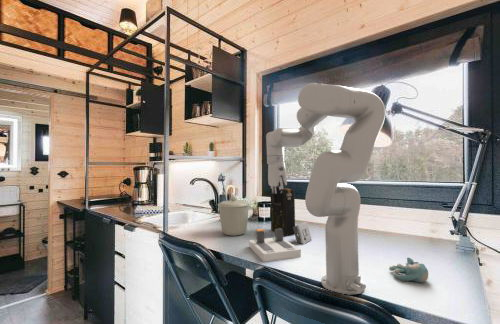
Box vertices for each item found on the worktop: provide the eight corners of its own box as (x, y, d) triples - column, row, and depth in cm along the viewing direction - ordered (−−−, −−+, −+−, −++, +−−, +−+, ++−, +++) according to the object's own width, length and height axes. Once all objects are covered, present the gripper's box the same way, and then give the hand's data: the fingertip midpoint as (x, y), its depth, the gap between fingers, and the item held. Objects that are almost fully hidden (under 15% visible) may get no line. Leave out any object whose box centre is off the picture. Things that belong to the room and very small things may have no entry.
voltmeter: (269, 230, 150) (268, 187, 151) (281, 228, 154) (281, 186, 155) (283, 237, 136) (282, 189, 137) (297, 235, 140) (296, 188, 140)
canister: (239, 239, 133) (238, 198, 133) (211, 235, 142) (210, 196, 142) (256, 231, 149) (255, 194, 149) (230, 228, 158) (229, 193, 158)
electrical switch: (303, 245, 122) (301, 225, 123) (293, 244, 126) (291, 224, 126) (312, 240, 130) (310, 221, 130) (302, 239, 133) (300, 221, 134)
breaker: (283, 240, 118) (282, 229, 118) (277, 240, 117) (276, 229, 117) (281, 239, 120) (281, 228, 120) (275, 239, 119) (275, 228, 119)
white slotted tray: (300, 256, 106) (300, 249, 106) (264, 261, 102) (263, 253, 102) (281, 243, 125) (280, 236, 125) (249, 246, 121) (249, 239, 121)
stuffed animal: (398, 252, 94) (433, 256, 84) (402, 273, 93) (438, 279, 82) (378, 258, 89) (413, 262, 79) (383, 280, 88) (419, 287, 77)
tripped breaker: (264, 242, 116) (264, 229, 116) (258, 242, 115) (257, 230, 115) (262, 241, 118) (262, 228, 118) (256, 241, 117) (256, 229, 117)
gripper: (291, 159, 106) (293, 204, 106) (276, 161, 121) (278, 200, 120) (274, 159, 104) (276, 205, 103) (261, 161, 118) (263, 201, 117)
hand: (277, 202), depth 112 cm, fingers closed
